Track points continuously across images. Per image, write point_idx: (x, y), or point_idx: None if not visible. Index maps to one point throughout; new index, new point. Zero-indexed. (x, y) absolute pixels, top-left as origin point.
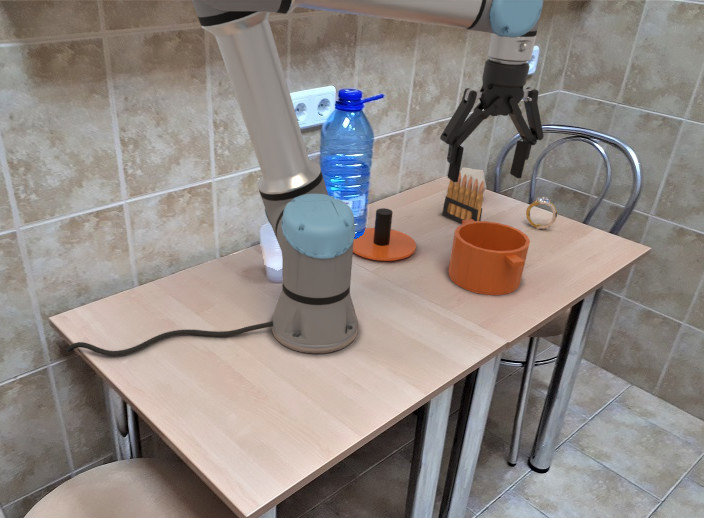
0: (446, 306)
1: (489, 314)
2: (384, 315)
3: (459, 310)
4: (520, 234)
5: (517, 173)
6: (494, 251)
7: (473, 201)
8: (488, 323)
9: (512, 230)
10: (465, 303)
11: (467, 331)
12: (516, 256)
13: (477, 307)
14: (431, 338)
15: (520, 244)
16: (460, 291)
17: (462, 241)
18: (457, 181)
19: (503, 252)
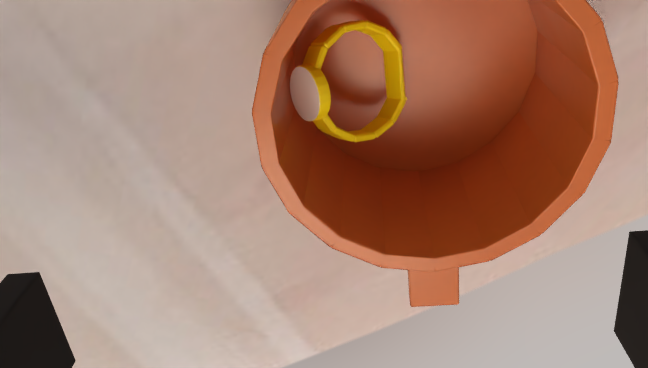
0: (213, 209)
1: (324, 261)
2: (25, 224)
3: (245, 233)
4: (592, 117)
5: (631, 344)
6: (365, 256)
7: None
8: (303, 295)
9: (587, 60)
10: (277, 203)
11: (234, 315)
12: (449, 272)
13: (305, 227)
14: (136, 324)
15: (576, 114)
16: None
17: (263, 159)
18: (70, 363)
19: (398, 268)
